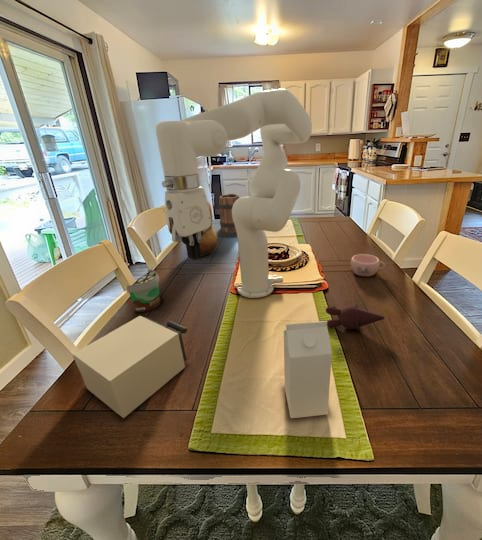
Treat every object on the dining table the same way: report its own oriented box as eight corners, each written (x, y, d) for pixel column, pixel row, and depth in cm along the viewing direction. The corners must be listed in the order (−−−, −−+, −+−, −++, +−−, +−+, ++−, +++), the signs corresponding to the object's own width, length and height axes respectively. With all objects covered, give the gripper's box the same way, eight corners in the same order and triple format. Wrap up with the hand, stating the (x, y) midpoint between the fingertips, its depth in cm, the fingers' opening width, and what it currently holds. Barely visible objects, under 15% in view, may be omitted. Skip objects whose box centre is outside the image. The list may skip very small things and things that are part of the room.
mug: (350, 278, 104) (351, 263, 101) (349, 266, 112) (350, 252, 110) (385, 280, 101) (388, 265, 99) (381, 268, 110) (384, 254, 107)
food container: (151, 316, 87) (144, 287, 83) (133, 314, 88) (125, 286, 84) (171, 295, 98) (165, 269, 94) (155, 294, 99) (148, 268, 95)
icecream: (382, 300, 78) (325, 300, 81) (387, 309, 71) (324, 309, 74) (382, 325, 79) (326, 324, 83) (387, 335, 72) (325, 334, 75)
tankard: (212, 236, 154) (208, 199, 145) (222, 227, 168) (219, 192, 160) (255, 237, 149) (253, 198, 140) (262, 228, 164) (260, 192, 155)
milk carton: (284, 388, 60) (283, 313, 52) (318, 385, 61) (321, 309, 53) (290, 419, 54) (289, 338, 46) (327, 415, 54) (333, 334, 46)
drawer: (166, 333, 78) (160, 308, 74) (199, 349, 71) (194, 323, 68) (98, 379, 64) (87, 351, 60) (131, 404, 57) (121, 375, 54)
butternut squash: (224, 251, 134) (219, 197, 123) (205, 261, 123) (196, 203, 113) (202, 246, 140) (195, 194, 130) (182, 256, 130) (172, 200, 120)
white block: (148, 347, 74) (139, 315, 70) (185, 367, 67) (178, 333, 63) (87, 388, 63) (72, 353, 58) (123, 418, 56) (109, 381, 51)
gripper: (167, 189, 57) (182, 272, 65) (217, 178, 68) (225, 251, 76) (143, 187, 61) (161, 266, 69) (195, 177, 72) (205, 246, 80)
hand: (194, 258), depth 72 cm, fingers closed
